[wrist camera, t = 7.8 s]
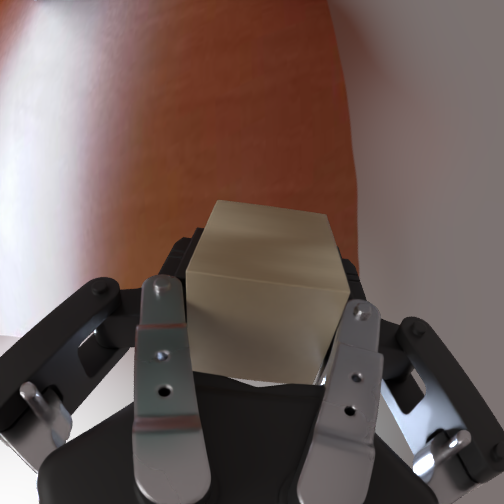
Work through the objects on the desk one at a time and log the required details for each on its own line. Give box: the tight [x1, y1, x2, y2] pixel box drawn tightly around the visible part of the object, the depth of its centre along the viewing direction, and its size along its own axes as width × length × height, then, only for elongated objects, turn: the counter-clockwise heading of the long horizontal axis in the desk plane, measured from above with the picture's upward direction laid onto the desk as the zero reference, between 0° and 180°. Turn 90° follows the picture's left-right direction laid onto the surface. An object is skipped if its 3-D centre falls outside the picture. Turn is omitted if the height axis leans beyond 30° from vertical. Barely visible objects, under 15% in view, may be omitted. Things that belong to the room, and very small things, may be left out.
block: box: [186, 200, 350, 385], centre depth 11 cm, size 4×4×5 cm
